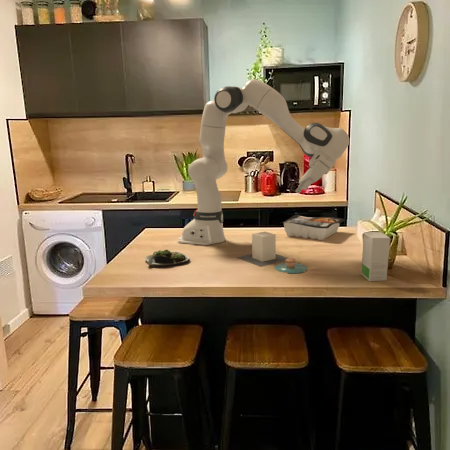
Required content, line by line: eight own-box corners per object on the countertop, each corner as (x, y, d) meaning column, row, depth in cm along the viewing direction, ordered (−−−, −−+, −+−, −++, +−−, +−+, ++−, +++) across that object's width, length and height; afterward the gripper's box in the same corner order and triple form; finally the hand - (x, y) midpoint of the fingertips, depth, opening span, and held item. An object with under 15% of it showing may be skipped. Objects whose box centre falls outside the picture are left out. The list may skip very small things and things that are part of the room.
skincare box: (360, 274, 169) (362, 231, 166) (378, 273, 170) (380, 231, 166) (369, 281, 161) (371, 237, 158) (388, 280, 162) (390, 236, 158)
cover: (262, 261, 185) (262, 236, 183) (252, 257, 191) (252, 233, 189) (275, 258, 189) (275, 234, 187) (265, 255, 194) (265, 231, 192)
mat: (260, 267, 179) (260, 266, 179) (236, 258, 192) (236, 257, 192) (292, 260, 188) (292, 259, 188) (266, 251, 201) (266, 250, 201)
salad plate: (136, 258, 196) (136, 247, 195) (177, 252, 204) (176, 242, 203) (150, 271, 179) (149, 259, 178) (194, 264, 187) (193, 252, 186)
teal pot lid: (273, 273, 172) (273, 263, 172) (275, 263, 184) (275, 254, 183) (306, 274, 170) (306, 264, 169) (307, 264, 182) (307, 255, 181)
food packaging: (345, 217, 232) (328, 226, 213) (344, 232, 233) (327, 242, 215) (298, 213, 245) (278, 221, 227) (298, 227, 247) (278, 236, 228)
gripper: (307, 163, 200) (288, 189, 198) (321, 154, 179) (300, 182, 178) (319, 173, 200) (299, 198, 199) (334, 164, 180) (313, 192, 178)
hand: (300, 190), depth 188 cm, fingers open, 8 cm apart
